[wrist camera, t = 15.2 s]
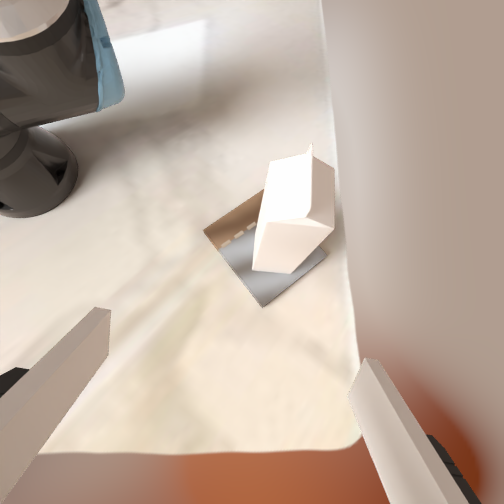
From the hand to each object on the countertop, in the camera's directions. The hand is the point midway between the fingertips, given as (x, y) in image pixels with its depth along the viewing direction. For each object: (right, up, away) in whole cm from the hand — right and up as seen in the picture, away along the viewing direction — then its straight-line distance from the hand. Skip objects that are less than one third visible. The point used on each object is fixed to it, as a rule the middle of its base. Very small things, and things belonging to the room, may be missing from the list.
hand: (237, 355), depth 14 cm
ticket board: (+3, +6, +29) cm, 30 cm away
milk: (+4, +5, +28) cm, 29 cm away
